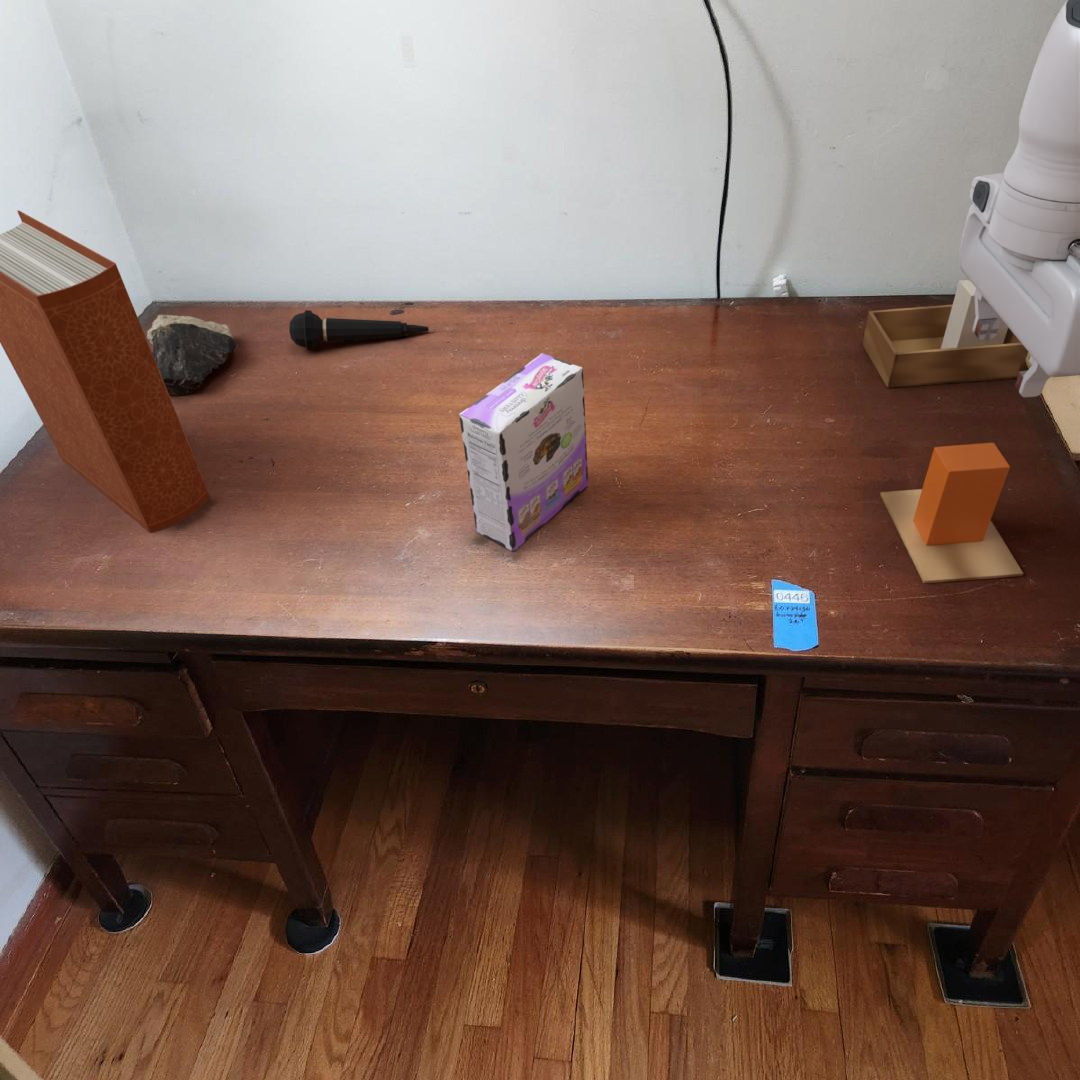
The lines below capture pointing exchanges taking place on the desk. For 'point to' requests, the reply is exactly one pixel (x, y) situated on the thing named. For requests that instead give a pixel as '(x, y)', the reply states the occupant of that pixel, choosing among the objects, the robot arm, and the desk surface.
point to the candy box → (526, 449)
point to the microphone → (344, 329)
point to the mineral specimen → (188, 350)
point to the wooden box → (933, 350)
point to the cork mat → (949, 547)
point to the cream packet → (967, 321)
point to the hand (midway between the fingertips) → (1004, 363)
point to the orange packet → (960, 493)
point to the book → (94, 375)
